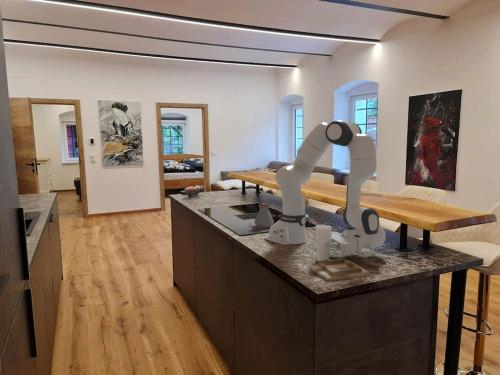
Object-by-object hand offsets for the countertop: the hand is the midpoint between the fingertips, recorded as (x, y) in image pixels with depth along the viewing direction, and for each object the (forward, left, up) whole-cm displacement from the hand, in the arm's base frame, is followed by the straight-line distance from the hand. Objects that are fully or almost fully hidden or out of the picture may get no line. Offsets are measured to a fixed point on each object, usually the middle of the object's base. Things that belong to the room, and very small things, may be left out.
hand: (321, 242), depth 154 cm
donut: (-46, +59, -9) cm, 75 cm away
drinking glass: (+1, +1, -8) cm, 8 cm away
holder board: (+11, -7, -8) cm, 15 cm away
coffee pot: (-59, +37, -8) cm, 70 cm away
